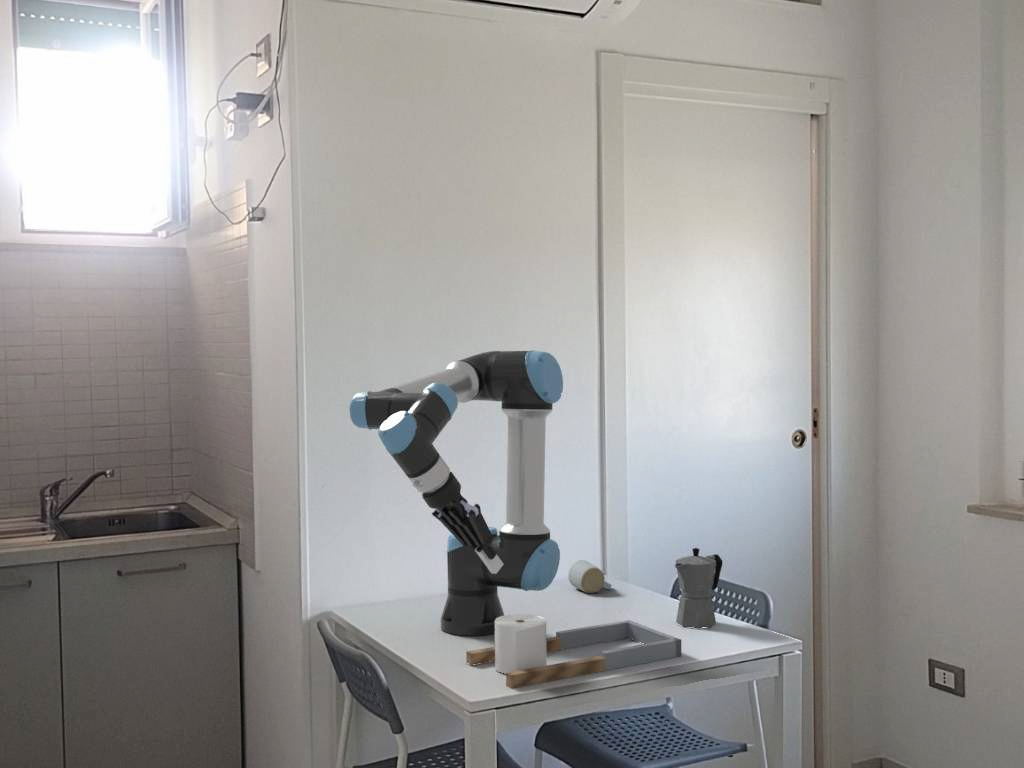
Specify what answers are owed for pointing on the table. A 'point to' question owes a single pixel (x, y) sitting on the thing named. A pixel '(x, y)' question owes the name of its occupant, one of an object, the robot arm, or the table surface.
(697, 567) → the coffeepot
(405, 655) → the table surface
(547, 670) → the slot lane
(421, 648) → the table surface
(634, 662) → the tray
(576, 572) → the ceramic mug
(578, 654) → the table surface
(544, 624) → the toilet tissue
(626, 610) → the table surface
